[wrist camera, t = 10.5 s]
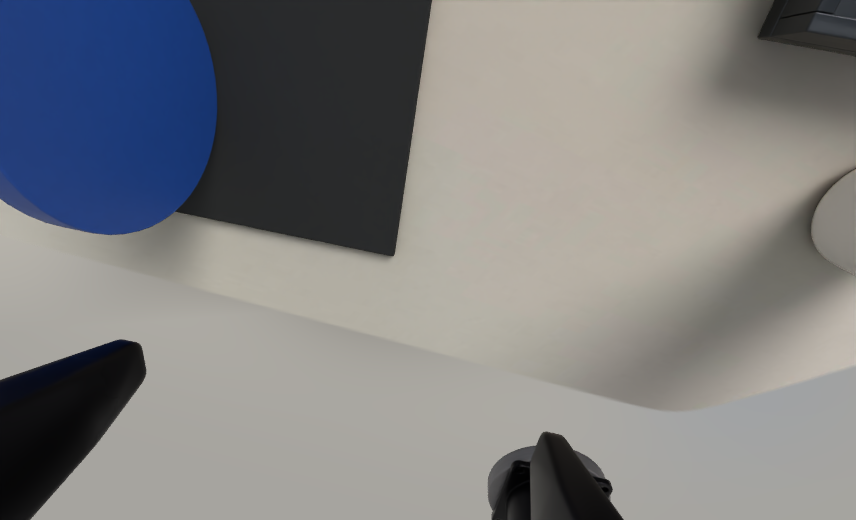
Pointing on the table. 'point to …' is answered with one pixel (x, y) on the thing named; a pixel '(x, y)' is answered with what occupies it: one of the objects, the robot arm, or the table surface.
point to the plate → (103, 110)
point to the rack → (813, 24)
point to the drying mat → (312, 116)
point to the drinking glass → (837, 224)
